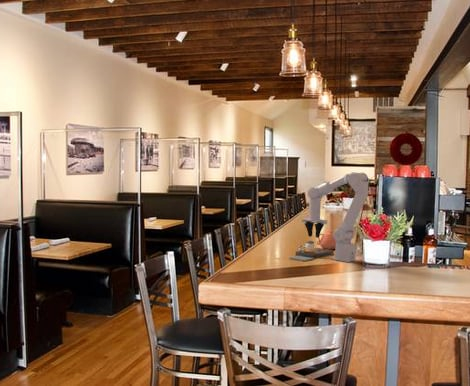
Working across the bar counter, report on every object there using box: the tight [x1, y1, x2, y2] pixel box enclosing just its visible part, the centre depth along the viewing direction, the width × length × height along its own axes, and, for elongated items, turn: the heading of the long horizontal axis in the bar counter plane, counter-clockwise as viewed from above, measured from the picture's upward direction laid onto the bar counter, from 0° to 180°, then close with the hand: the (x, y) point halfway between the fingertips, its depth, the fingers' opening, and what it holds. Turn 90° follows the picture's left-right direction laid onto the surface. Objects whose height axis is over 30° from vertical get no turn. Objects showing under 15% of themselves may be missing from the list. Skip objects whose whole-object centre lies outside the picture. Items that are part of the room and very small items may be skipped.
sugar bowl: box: [316, 230, 336, 250], centre depth 278 cm, size 12×14×10 cm
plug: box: [303, 240, 315, 253], centre depth 253 cm, size 6×6×8 cm
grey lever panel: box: [295, 247, 335, 259], centre depth 256 cm, size 10×20×2 cm, turn 136°
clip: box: [298, 244, 306, 252], centre depth 255 cm, size 2×10×3 cm, turn 136°
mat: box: [288, 255, 315, 262], centre depth 243 cm, size 9×8×1 cm
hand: (313, 236), depth 255 cm, fingers open, 4 cm apart
